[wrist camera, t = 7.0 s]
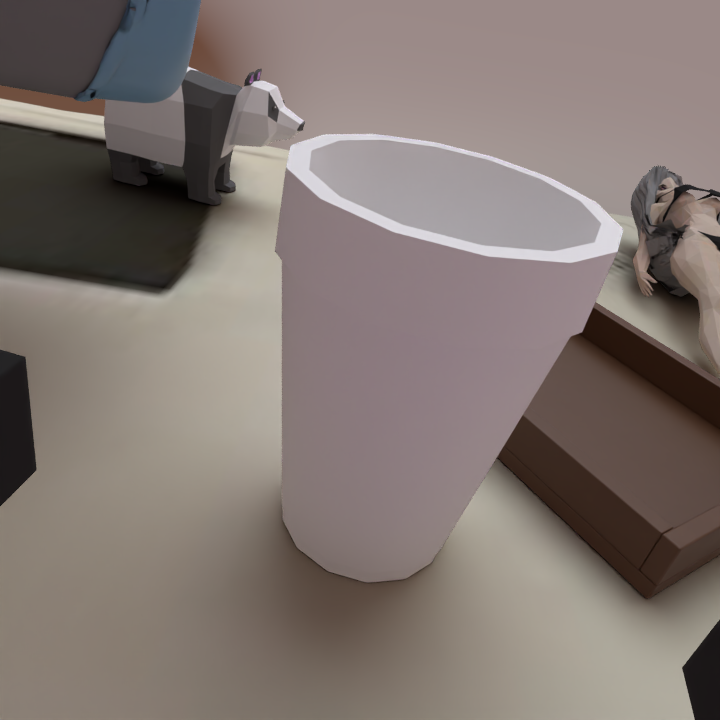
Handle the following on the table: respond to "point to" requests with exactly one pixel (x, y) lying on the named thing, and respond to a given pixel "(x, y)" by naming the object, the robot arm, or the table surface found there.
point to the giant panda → (196, 131)
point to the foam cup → (416, 334)
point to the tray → (626, 451)
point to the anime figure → (680, 247)
